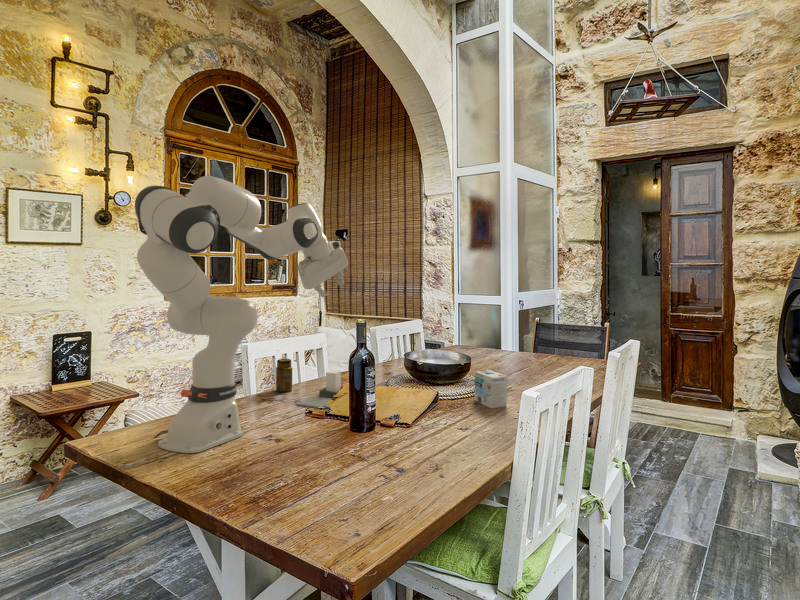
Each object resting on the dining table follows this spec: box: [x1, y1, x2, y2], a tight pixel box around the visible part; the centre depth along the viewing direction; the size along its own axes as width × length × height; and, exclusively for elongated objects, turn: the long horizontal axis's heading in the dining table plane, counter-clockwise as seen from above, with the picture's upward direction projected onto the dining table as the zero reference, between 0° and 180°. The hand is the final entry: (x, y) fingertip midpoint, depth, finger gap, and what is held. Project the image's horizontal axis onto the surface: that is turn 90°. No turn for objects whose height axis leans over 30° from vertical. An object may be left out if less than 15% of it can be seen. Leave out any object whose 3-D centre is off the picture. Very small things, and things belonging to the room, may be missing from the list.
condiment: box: [273, 358, 295, 395], centre depth 180 cm, size 7×8×12 cm
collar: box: [318, 386, 344, 398], centre depth 177 cm, size 8×8×2 cm
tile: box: [295, 395, 332, 409], centre depth 166 cm, size 10×10×1 cm
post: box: [325, 369, 342, 392], centre depth 177 cm, size 4×4×8 cm
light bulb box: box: [473, 369, 508, 409], centre depth 168 cm, size 11×7×11 cm, turn 25°
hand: (333, 290), depth 159 cm, fingers open, 8 cm apart
